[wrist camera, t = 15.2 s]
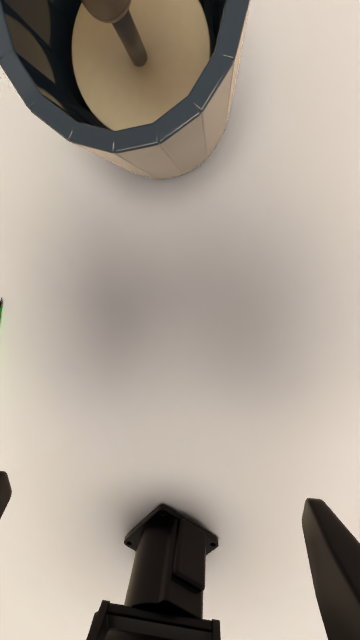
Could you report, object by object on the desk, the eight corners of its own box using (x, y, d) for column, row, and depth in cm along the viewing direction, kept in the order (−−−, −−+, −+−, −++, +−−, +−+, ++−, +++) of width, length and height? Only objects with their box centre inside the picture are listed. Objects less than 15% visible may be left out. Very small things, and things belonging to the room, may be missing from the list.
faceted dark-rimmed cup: (176, 206, 17) (146, 202, 9) (70, 122, 16) (-59, 41, 8) (261, 79, 14) (315, -68, 7) (141, -30, 13) (49, -340, 6)
